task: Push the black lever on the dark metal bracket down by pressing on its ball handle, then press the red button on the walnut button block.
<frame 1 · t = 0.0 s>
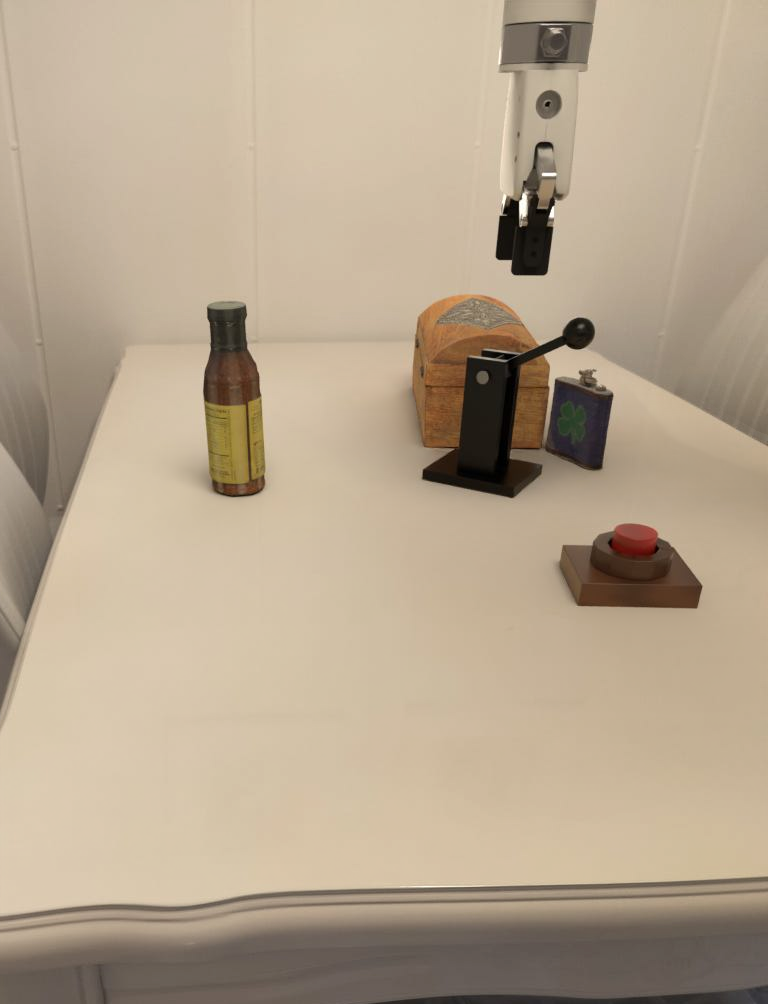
hand: (519, 267, 87), 24 cm above the table, tool pointing down, fingers open, 9 cm apart
lever: (535, 352, 97), point 15 cm above the table, hinge at 30.0°
button block: (625, 586, 81), on the table
bracket: (482, 476, 106), on the table
button: (634, 540, 79), point 4 cm above the table, slide at 0.1 cm
wooden box: (473, 416, 128), on the table
flask: (573, 459, 112), on the table
sauce bottle: (237, 490, 103), on the table
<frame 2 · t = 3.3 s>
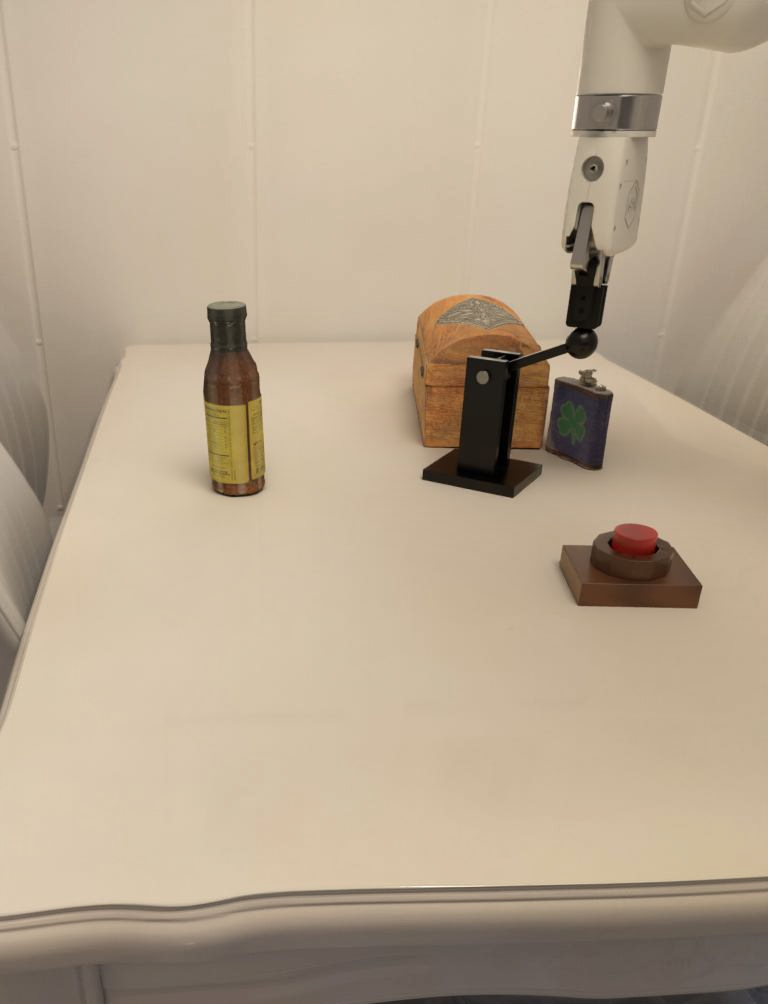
hand: (583, 326, 93), 18 cm above the table, tool pointing down, fingers closed
lever: (536, 357, 97), point 14 cm above the table, hinge at 24.2°, touching gripper
everything else where it was.
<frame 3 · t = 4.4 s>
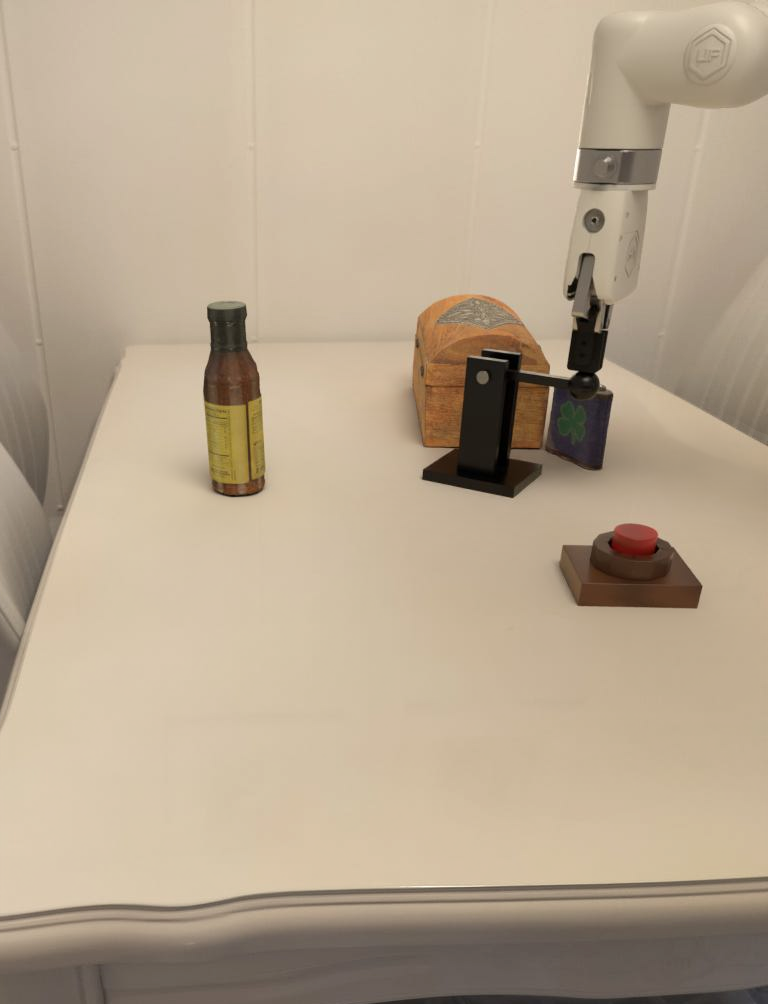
hand: (584, 369, 95), 13 cm above the table, tool pointing down, fingers closed
lever: (538, 378, 98), point 12 cm above the table, hinge at -0.8°, touching gripper
everything else where it was.
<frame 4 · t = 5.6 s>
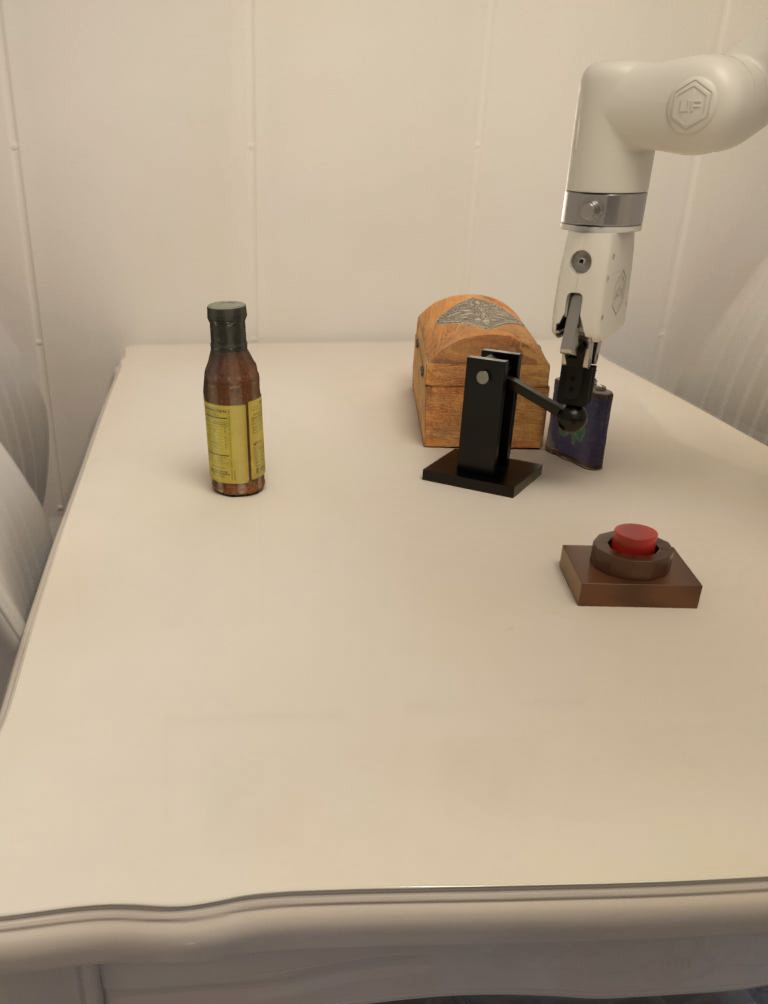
hand: (573, 403, 97), 10 cm above the table, tool pointing down, fingers closed
lever: (532, 395, 99), point 10 cm above the table, hinge at -21.6°, touching gripper
everything else where it was.
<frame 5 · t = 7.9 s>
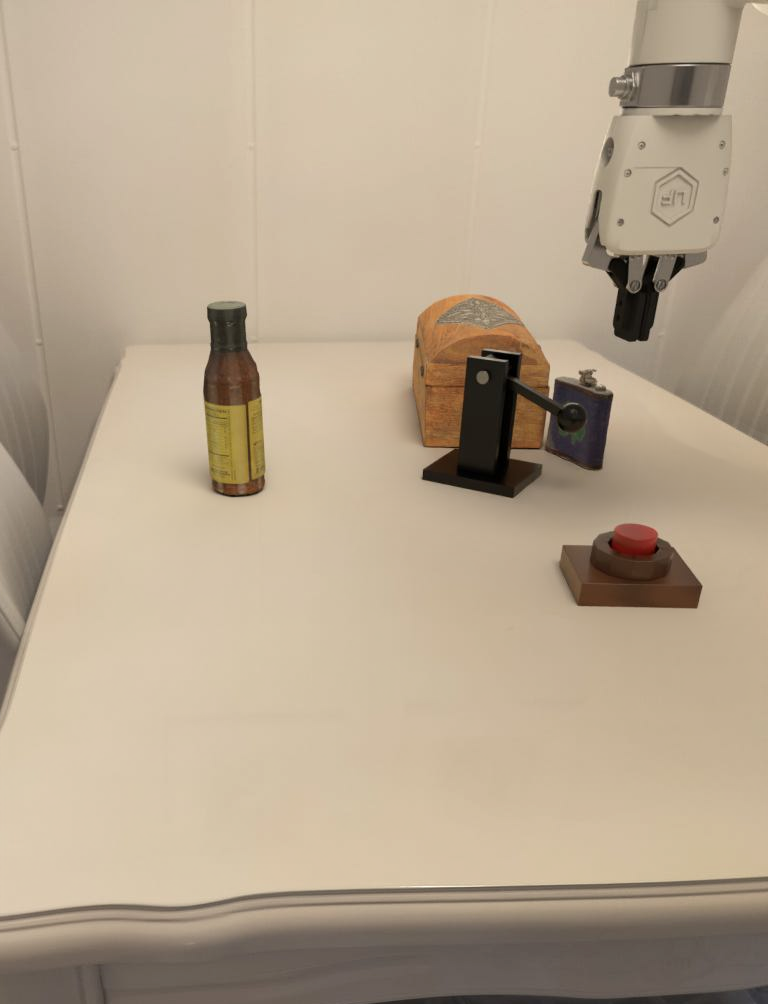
hand: (630, 337, 80), 19 cm above the table, tool pointing down, fingers closed
lever: (532, 395, 99), point 10 cm above the table, hinge at -21.7°
everything else where it was.
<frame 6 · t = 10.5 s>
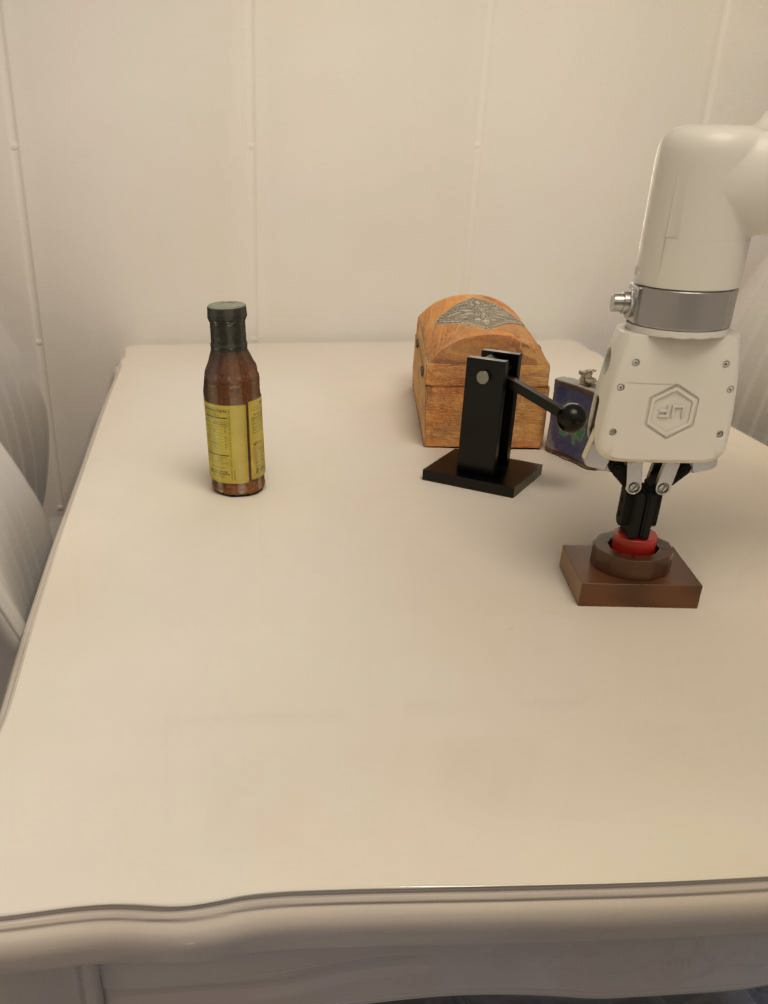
hand: (633, 532, 79), 5 cm above the table, tool pointing down, fingers closed
button: (633, 542, 79), point 4 cm above the table, slide at -0.1 cm, touching gripper
everything else where it was.
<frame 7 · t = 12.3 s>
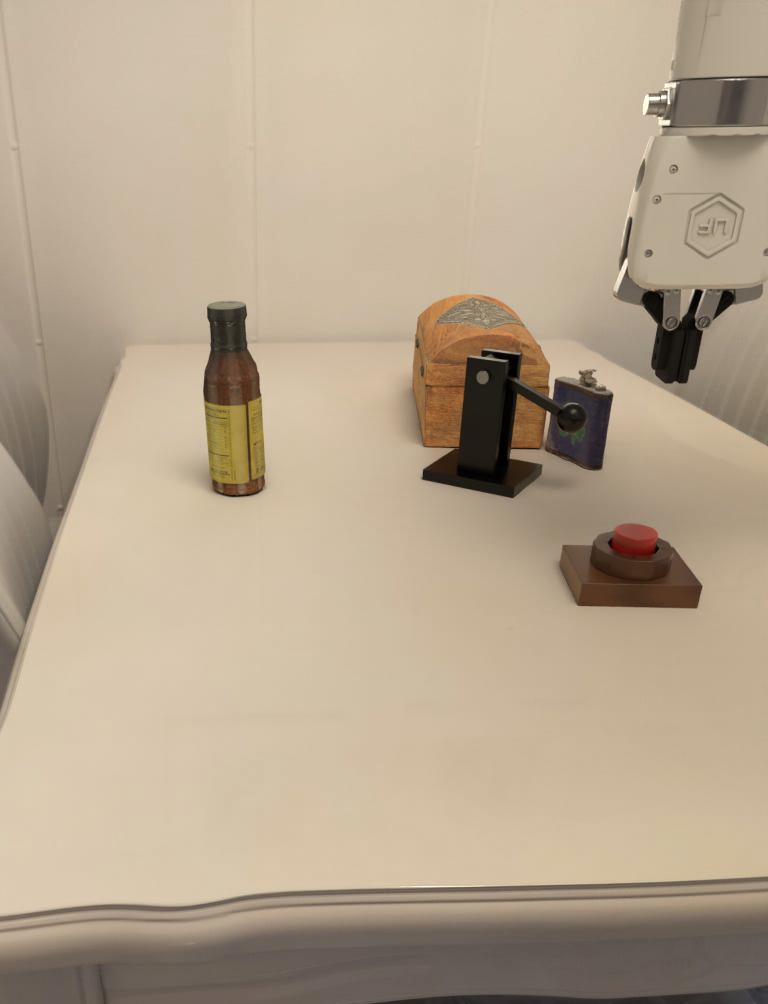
hand: (670, 378, 72), 18 cm above the table, tool pointing down, fingers closed
button: (634, 540, 79), point 4 cm above the table, slide at 0.1 cm
everything else where it was.
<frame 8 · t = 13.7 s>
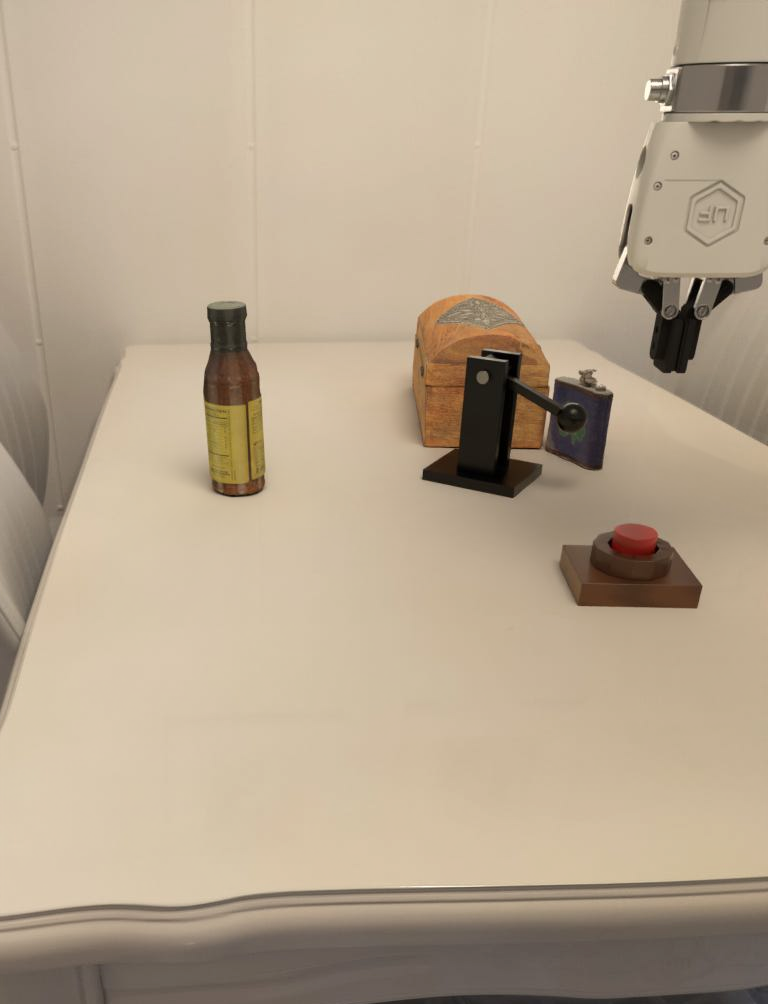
hand: (668, 368, 72), 19 cm above the table, tool pointing down, fingers closed
nothing on the table moved.
at the end: lever at -22° (first picture: +30°); button pushed in 1.1 cm at the most during the clip, back to where it started at the end; button slide at 0.1 cm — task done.
